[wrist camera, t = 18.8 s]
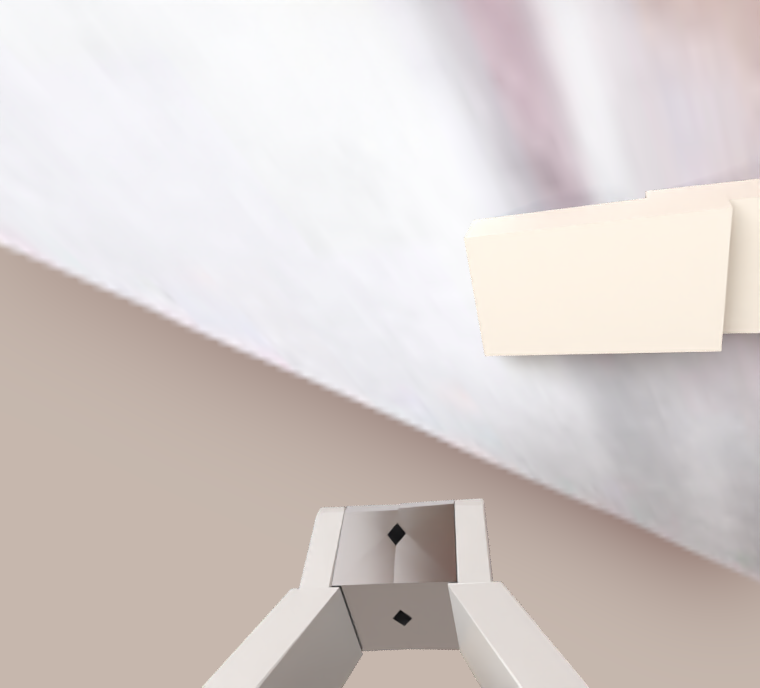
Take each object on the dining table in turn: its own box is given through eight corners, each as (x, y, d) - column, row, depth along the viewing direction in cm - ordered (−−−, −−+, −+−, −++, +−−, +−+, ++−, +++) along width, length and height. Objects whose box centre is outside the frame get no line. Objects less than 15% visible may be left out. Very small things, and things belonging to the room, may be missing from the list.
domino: (473, 220, 20) (722, 188, 17) (492, 332, 22) (712, 323, 19) (463, 238, 19) (732, 207, 15) (484, 356, 21) (721, 351, 18)
